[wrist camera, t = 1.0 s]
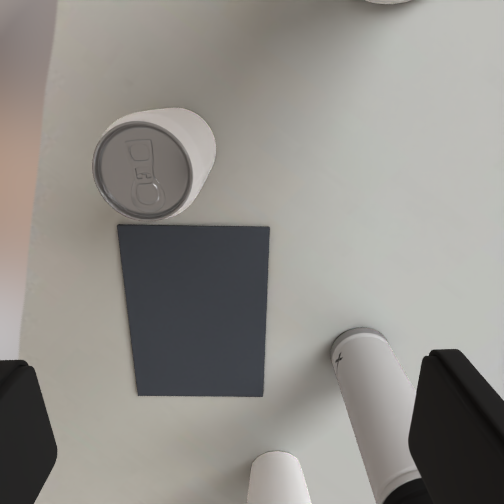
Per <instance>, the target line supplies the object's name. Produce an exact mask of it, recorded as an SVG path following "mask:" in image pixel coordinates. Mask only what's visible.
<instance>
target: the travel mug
mask: <svg viewBox="0 0 504 504" xmlns="http://www.w3.org/2000/svg"><path fill="white" fill-rule="evenodd" d="M330 358H331V361H332V364H333V367H334V371H335V374H336V377H337V380H338V383H339V386H340V390H341V393H342V396H343V399H344V402H345V405H346V409H347V412H348V415H349V418H350V421H351V424H352V428H353V431H354V434H355V437H356V440H357V443H358V447H359V450H360V453H361V456H362V459H363V463H364V466H365V469H366V472H367V475H368V478H369V482H370V485H371V488H372V491H373V494H374V497H375V501H376V504H434V503H433V501H432V499H431V497H430V495H429V493H428V491H427V488H426V486H425V484H424V482H423V480H422V478H421V476H420V474H419V471H418V469H417V467H416V465H415V463H414V461H413V459H412V456H411V454H410V451H409V446H408V436H409V430H410V425H411V419H412V414H413V408H414V403H415V397H416V391H415V389H414V387H413V385H412V384H411V382H410V380H409V378H408V377H407V375H406V373H405V371H404V370H403V368H402V366H401V364H400V363H399V361H398V359H397V357H396V356H395V354H394V352H393V350H392V348H391V347H390V345H389V343H388V341H387V340H386V338H385V337H384V336H383V335H382V334H381V333H380V332H378V331H376V330H374V329H370V328H355V329H351V330H348V331H346V332H344V333H343V334H341V335H340V336H339V337H338V338H337V339H336V340H335V342H334V343H333V345H332V348H331V352H330Z"/></svg>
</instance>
